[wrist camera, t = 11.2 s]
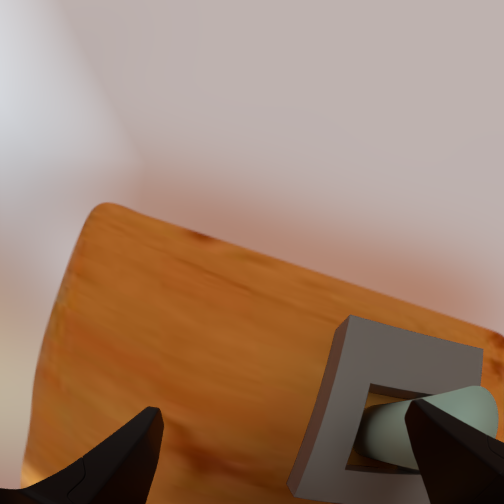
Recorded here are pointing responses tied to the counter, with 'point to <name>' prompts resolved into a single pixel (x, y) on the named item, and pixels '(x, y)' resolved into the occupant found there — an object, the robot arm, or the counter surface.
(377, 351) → the socket block
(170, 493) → the counter surface
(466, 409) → the teal peg
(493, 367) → the counter surface
